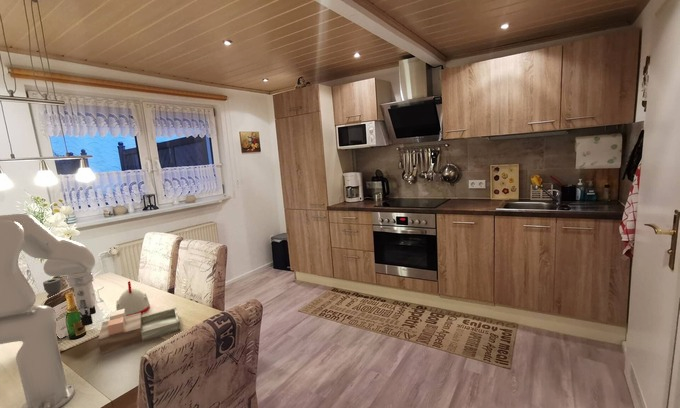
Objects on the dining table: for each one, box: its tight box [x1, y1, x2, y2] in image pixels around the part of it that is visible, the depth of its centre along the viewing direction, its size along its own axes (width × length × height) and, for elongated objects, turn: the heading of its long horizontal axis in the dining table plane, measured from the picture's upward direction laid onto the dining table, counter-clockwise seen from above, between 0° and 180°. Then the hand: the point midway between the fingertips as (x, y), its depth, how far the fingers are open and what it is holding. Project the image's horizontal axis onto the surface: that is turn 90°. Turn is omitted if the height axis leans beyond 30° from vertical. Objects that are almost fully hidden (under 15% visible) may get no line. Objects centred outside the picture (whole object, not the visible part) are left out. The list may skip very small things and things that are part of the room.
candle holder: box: [42, 277, 63, 340], centre depth 139 cm, size 6×6×25 cm
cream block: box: [109, 309, 126, 322], centre depth 138 cm, size 5×5×4 cm
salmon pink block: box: [108, 317, 125, 335], centre depth 130 cm, size 5×5×4 cm
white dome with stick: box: [115, 280, 151, 316], centre depth 159 cm, size 14×14×15 cm
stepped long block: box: [97, 307, 181, 355], centre depth 139 cm, size 16×28×6 cm, turn 121°
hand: (89, 319), depth 130 cm, fingers open, 9 cm apart
